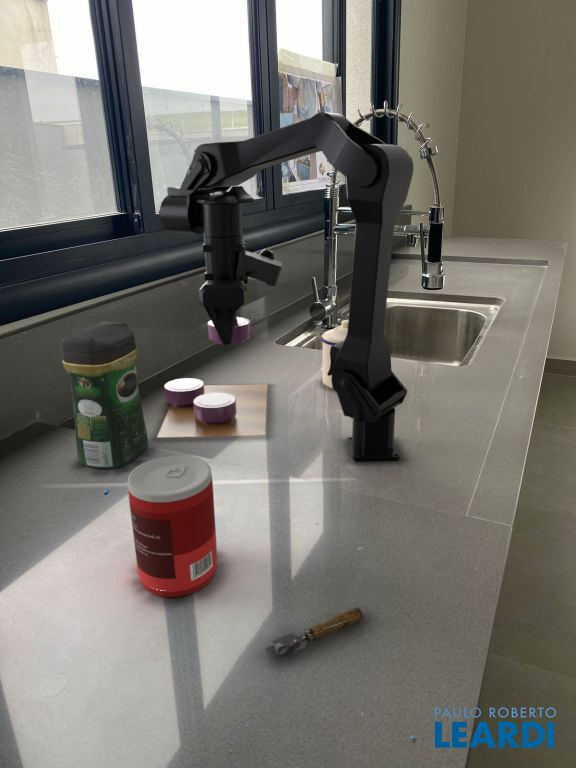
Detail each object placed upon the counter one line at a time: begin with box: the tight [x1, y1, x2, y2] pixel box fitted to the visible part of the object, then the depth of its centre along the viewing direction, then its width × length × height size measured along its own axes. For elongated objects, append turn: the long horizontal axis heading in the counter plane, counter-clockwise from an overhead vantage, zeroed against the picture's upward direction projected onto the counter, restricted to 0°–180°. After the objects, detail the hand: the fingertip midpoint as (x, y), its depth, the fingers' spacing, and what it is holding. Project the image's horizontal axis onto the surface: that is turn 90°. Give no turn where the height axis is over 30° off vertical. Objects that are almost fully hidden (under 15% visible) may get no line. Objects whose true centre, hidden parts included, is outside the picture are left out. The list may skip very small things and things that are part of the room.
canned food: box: [127, 454, 218, 598], centre depth 58 cm, size 8×8×11 cm
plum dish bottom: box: [193, 393, 236, 424], centre depth 95 cm, size 7×7×3 cm
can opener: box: [265, 607, 364, 657], centre depth 51 cm, size 9×2×1 cm, turn 113°
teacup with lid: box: [320, 319, 349, 389], centre depth 109 cm, size 12×9×12 cm
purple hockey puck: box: [163, 377, 205, 406], centre depth 101 cm, size 7×7×3 cm
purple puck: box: [206, 316, 252, 346], centre depth 94 cm, size 7×7×3 cm
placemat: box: [156, 383, 269, 439], centre depth 99 cm, size 22×16×1 cm
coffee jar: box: [60, 321, 149, 470], centre depth 81 cm, size 10×8×19 cm
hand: (228, 338), depth 94 cm, fingers closed on purple puck, 6 cm apart
